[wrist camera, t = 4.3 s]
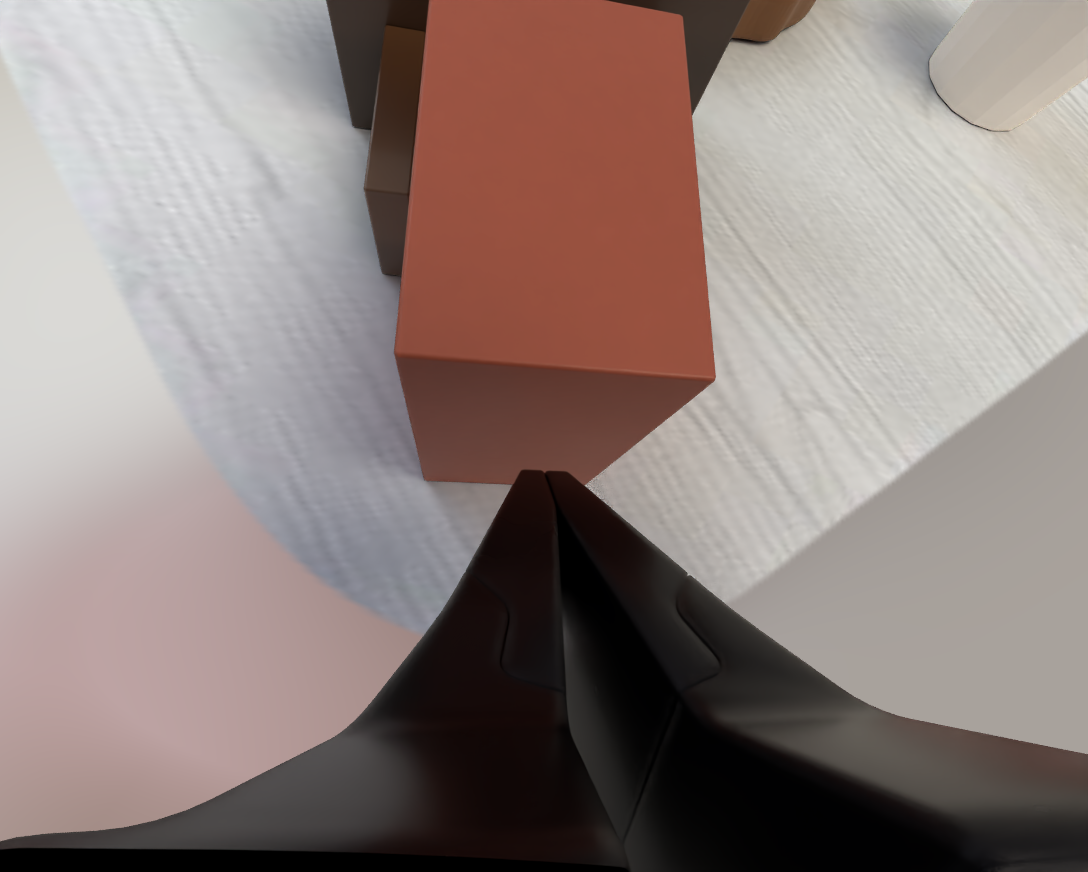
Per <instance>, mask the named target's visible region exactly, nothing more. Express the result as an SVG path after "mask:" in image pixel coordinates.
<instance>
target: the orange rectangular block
mask: <svg viewBox="0 0 1088 872" xmlns="http://www.w3.org/2000/svg"><path fill="white" fill-rule="evenodd" d="M394 355H395V359H396V364H397V368H398V372H399V376H400V380H401V385H402V389H403V393H404V397H405V401H406V406H407V410H408V414H409V418H410V423H411V427H412V431H413V435H414V439H415V444H416V448H417V452H418V456H419V460H420V465H421V469H422V473H423V477H424V480H426V481H446V482H470V483H494V484H513V483H514V482H515V480H516V478H517V476H518V474H519V472H520V471H521V470H523V469H530V470H542V471H544V473H545V472H546V471H549V470H552V471H567V472H569V473H570V474H571V475H572V476H574V477H575V478H576V479H577V480H578V481H579V482H581V483H582V484H583V485H586V484H587V483H588V482H589V481H591V480H592V479H593V478H594V477H596V476H597V475H598V474H599V473H601V472H602V471H603V470H604V469H606V468H607V467H608V466H609V465H611V464H612V463H613V462H614V461H616V460H617V459H618V458H619V457H621V456H622V455H623V454H624V453H626V452H627V451H628V450H629V449H631V448H632V447H633V446H634V445H635V444H637V443H638V442H639V441H640V440H642V439H643V438H644V437H645V436H647V435H648V434H649V433H650V432H652V431H653V430H654V429H655V428H657V427H658V426H659V425H660V424H662V423H663V422H664V421H665V420H667V419H668V418H669V417H670V416H672V415H673V414H674V413H675V412H677V411H678V410H679V409H680V408H682V407H683V406H684V405H685V404H687V403H688V402H689V401H690V400H692V399H693V398H694V397H695V396H697V395H698V394H699V393H700V392H702V391H703V390H704V389H705V388H707V387H708V386H709V385H710V384H712V383H713V382H714V381H715V377H716V375H715V364H714V353H713V342H712V331H711V320H710V309H709V298H708V287H707V276H706V265H705V254H704V243H703V233H702V222H701V211H700V200H699V189H698V178H697V167H696V156H695V145H694V134H693V123H692V112H691V101H690V90H689V79H688V68H687V57H686V46H685V35H684V25H683V17H682V16H681V15H679V14H674V13H668V12H663V11H658V10H653V9H648V8H642V7H637V6H632V5H627V4H622V3H617V2H611V1H606V0H429V5H428V15H427V25H426V35H425V45H424V55H423V65H422V75H421V85H420V95H419V105H418V115H417V125H416V136H415V146H414V156H413V166H412V176H411V186H410V196H409V206H408V216H407V226H406V236H405V246H404V256H403V266H402V276H401V286H400V297H399V307H398V317H397V327H396V337H395V347H394Z"/></svg>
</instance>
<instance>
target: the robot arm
mask: <svg viewBox="0 0 1088 872" xmlns="http://www.w3.org/2000/svg"><path fill="white" fill-rule="evenodd" d="M687 575H688V574H687V572H686V571H685V570H683V569H682V568H681V567H680V566H679V565H678V564H676V563H675V562H674V561H673V560H672V559H670V558H669V557H668V556H667V555H666V554H665V553H663V552H662V551H661V550H660V549H659V548H657V547H656V546H655V545H654V544H653V543H652V542H650V541H649V540H648V539H647V538H646V537H644V536H643V535H642V534H641V533H640V532H639V531H637V530H636V529H635V528H634V527H633V526H631V525H630V524H629V523H628V522H627V521H626V520H624V519H623V518H622V517H621V516H620V515H618V514H617V513H616V512H615V511H614V510H613V509H611V508H610V507H609V506H608V505H607V504H605V503H604V502H603V501H602V500H601V499H600V498H598V497H597V496H596V495H595V494H594V493H592V492H591V491H590V490H589V489H588V488H587V487H585V486H584V485H583V484H582V483H581V482H579V481H578V480H577V479H576V478H575V477H574V476H572V475H571V474H570V473H569V472H567V471H552V470H549V471H546V472H545V473H544V471H542V470H530V469H523V470H521V471H520V472H519V474H518V476H517V478H516V480H515V482H514V483H513V485H512V487H511V489H510V491H509V493H508V494H507V496H506V498H505V500H504V502H503V504H502V505H501V507H500V509H499V511H498V513H497V515H496V516H495V518H494V520H493V522H492V524H491V525H490V527H489V529H488V531H487V533H486V535H485V536H484V538H483V540H482V542H481V544H480V546H479V547H478V549H477V551H476V553H475V555H474V557H473V558H472V560H471V562H470V564H469V566H468V567H467V569H466V572H465V573H464V574H463V576H462V578H461V580H460V582H459V583H458V585H457V587H456V589H455V590H454V592H453V594H452V595H451V597H450V599H449V600H448V602H447V604H446V605H445V607H444V608H443V610H442V611H441V613H440V614H439V616H438V617H437V618H436V620H435V621H434V622H433V624H432V625H431V627H430V628H429V629H428V631H427V632H426V633H425V635H424V636H423V637H422V639H421V640H420V641H419V642H418V644H417V645H416V646H415V647H414V649H413V650H412V651H411V653H410V654H409V655H408V656H407V658H406V659H405V660H404V661H403V663H402V664H401V665H400V667H399V668H398V669H397V670H396V672H395V673H394V674H393V675H392V677H391V678H390V679H389V681H388V682H387V683H386V684H385V686H384V687H383V688H382V690H381V691H380V692H379V693H378V694H377V696H376V697H375V698H374V700H373V701H372V702H371V703H370V704H369V705H368V707H367V708H366V709H365V710H364V711H363V713H362V714H361V715H360V716H359V717H358V718H357V719H356V720H355V721H354V722H353V723H351V724H350V725H349V726H348V727H347V728H346V729H345V730H343V731H342V732H341V733H339V734H338V735H337V736H335V737H333V738H331V739H330V740H328V741H326V742H324V743H322V744H320V745H318V746H316V747H314V748H312V749H310V750H308V751H306V752H304V753H302V754H300V755H298V756H296V757H294V758H292V759H290V760H288V761H286V762H284V763H282V764H280V765H278V766H276V767H274V768H272V769H270V770H268V771H266V772H264V773H262V774H260V775H258V776H256V777H254V778H252V779H250V780H248V781H246V782H245V783H242V784H240V785H239V786H237V787H235V788H233V789H231V790H229V791H227V792H225V793H223V794H221V795H219V796H217V797H215V798H213V799H211V800H209V801H207V802H204V803H202V804H200V805H197V806H195V807H193V808H191V809H188V810H186V811H183V812H180V813H177V814H174V815H171V816H168V817H165V818H162V819H159V820H156V821H151V822H147V823H142V824H138V825H133V826H129V827H124V828H116V829H108V830H99V831H86V832H69V833H53V834H40V835H32V836H24V837H16V838H12V839H8V840H4V841H1V842H0V872H1088V754H1083V753H1078V752H1073V751H1068V750H1063V749H1058V748H1053V747H1048V746H1043V745H1038V744H1033V743H1028V742H1023V741H1018V740H1013V739H1008V738H1003V737H998V736H993V735H988V734H983V733H978V732H973V731H968V730H963V729H958V728H953V727H948V726H943V725H938V724H934V723H929V722H924V721H919V720H913V719H909V718H905V717H900V716H897V715H894V714H891V713H888V712H885V711H882V710H880V709H878V708H876V707H874V706H871V705H869V704H867V703H865V702H863V701H861V700H860V699H858V698H856V697H854V696H852V695H851V694H849V693H848V692H846V691H845V690H843V689H842V688H840V687H839V686H837V685H836V684H835V683H833V682H831V681H830V680H829V679H828V678H826V677H825V676H823V675H822V674H821V673H819V672H818V671H816V670H815V669H813V668H812V667H811V666H809V665H808V664H807V663H805V662H804V661H802V660H801V659H800V658H798V657H797V656H795V655H794V654H793V653H791V652H789V651H788V650H787V649H786V648H784V647H783V646H781V645H780V644H778V643H777V642H775V641H774V640H773V639H771V638H770V637H769V636H767V635H766V634H765V633H763V632H762V631H760V630H759V629H758V628H756V627H755V626H754V625H752V624H751V623H750V622H748V621H747V620H746V619H744V618H743V617H741V616H740V615H739V614H738V613H736V612H735V611H734V610H732V609H731V608H730V607H728V606H727V605H726V604H725V603H724V602H722V601H721V600H720V599H719V598H717V597H716V596H715V595H714V594H712V593H711V592H710V591H709V590H707V589H706V588H705V587H704V586H703V585H701V584H700V583H699V582H698V581H697V580H696V579H694V578H693V577H692V576H690V575H689V576H687Z"/></svg>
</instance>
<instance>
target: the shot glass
mask: <svg viewBox="0 0 1088 872" xmlns="http://www.w3.org/2000/svg"><path fill="white" fill-rule="evenodd" d="M929 70H930V78H931V80H932V82H933V84H934V86H935V89H936V91H937V93H938V94H939V96H940V97H941V98H942V99H943V100H944V101H945V102H946V104H947V105H948V106H949V107H950V108H951V109H952V110H953V111H954V112H956V113H957V114H958V115H960V116H961V117H963V118H964V119H966V120H967V121H969V122H970V123H972V124H974V125H977V126H980V127H983V128H986V129H989V130H992V131H1010V130H1012V129H1014V128H1016V127H1018V126H1020V125H1021V124H1023V123H1025V122H1026V121H1027V120H1029V119H1030V118H1032V117H1033V116H1034V115H1036V114H1037V113H1039V112H1040V111H1041V110H1043V109H1044V108H1046V107H1047V106H1048V105H1050V104H1051V103H1053V102H1054V101H1055V100H1057V99H1058V98H1060V97H1061V96H1062V95H1064V94H1065V93H1067V92H1068V91H1069V90H1071V89H1072V88H1074V87H1075V86H1076V85H1078V84H1079V83H1081V82H1082V81H1083V80H1085V79H1086V78H1088V0H974V1H973V2H972V3H971V5H970V6H969V7H968V8H967V10H966V11H965V12H964V14H963V15H962V16H961V17H960V19H959V20H958V21H957V23H956V24H955V25H954V27H953V28H952V29H951V30H950V32H949V33H948V34H947V36H946V37H945V38H944V39H943V41H942V42H941V43H940V45H939V46H938V47H937V48H936V50H935V52H934V53H933V55H932V56H931V58H930V60H929Z"/></svg>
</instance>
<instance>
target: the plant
mask: <svg viewBox="0 0 1088 872" xmlns="http://www.w3.org/2000/svg"><path fill="white" fill-rule="evenodd" d="M815 1H816V0H750V2H749V4H748V6H747V8H746V10H745V12H744V14H743V16H742V18H741V20H740V22H739V24H738V26H737V28H736V30H735V32H734V34H733V36H732V38H742V39H749V40H754V41H759V42H760V41H769V40H773V39H774V38H775V37H777V35H778V34H779V33H780V32H781V31H782V30H783V29H785V28H787V27H790V26H792V25H794V24H796V23H797V22H799V21H800V20H801V19H802V18H804V17H805V16H806V14H807V13H808V12H809V10H810V9H811V7H812V6H813V4H814V2H815Z"/></svg>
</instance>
